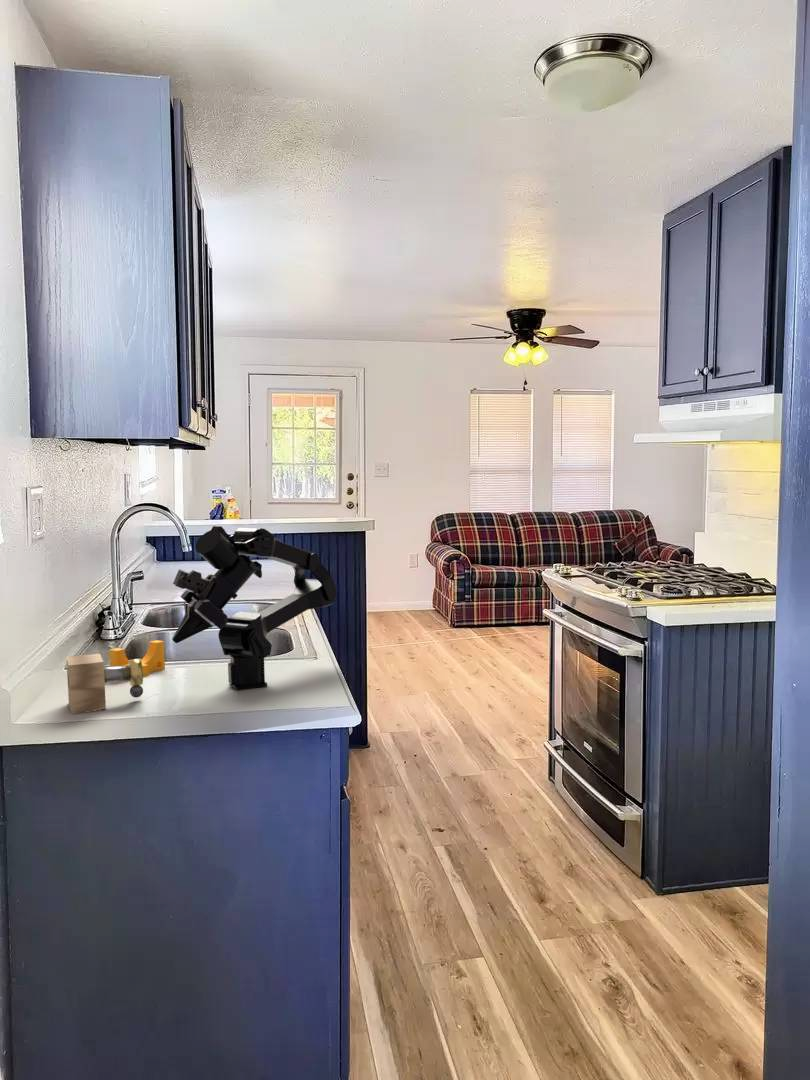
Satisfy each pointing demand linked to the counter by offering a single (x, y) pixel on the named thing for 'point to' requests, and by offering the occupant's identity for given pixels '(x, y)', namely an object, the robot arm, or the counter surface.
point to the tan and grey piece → (127, 676)
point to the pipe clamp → (149, 663)
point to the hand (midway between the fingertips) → (174, 641)
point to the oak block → (86, 683)
